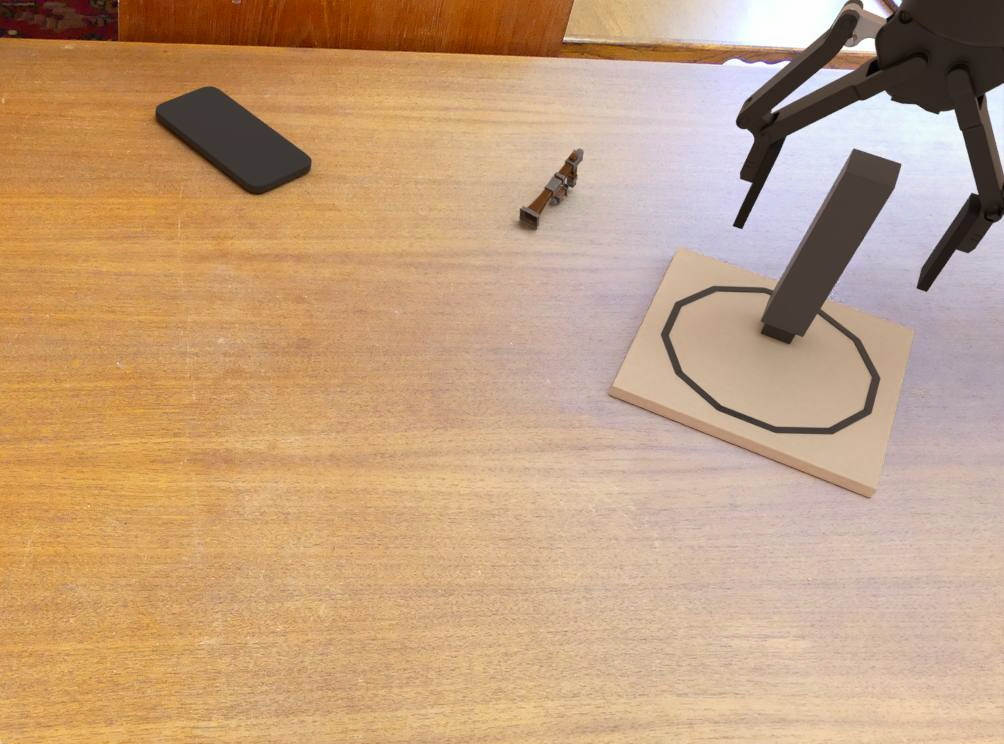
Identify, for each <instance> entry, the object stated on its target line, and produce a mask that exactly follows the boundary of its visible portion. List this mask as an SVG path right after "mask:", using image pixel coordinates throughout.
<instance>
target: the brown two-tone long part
mask: <svg viewBox="0 0 1004 744" xmlns="http://www.w3.org/2000/svg"><path fill="white" fill-rule="evenodd" d="M584 154H585V150H584V149H583V148H582V147H581V148H580V147H579V148H577V149H575V148H574V149H573V150H572V152H571V153H570V154H569V156H568V157H567V158H566V159H565V160H564V164H563V165H562V167H561V168H560V169H559V171H555V172H554V173H553V175H552V176H551V178H550V180H549V181H548V182H547V183H546V184H545V186H544V187H543V188H544V189H543V190H542V192H541V193H540V194H539V195H538V196H537V197H536V198H535V199H534V200H533V201H532V202H531V203H530V204H529V205H527V207H526V206H525V205H522V206H521V207H519V216H518V218H519V219H518V220H519V221H520V222H521V223H524V224H525V225H527V226H529V227H531V228H533V229H535V230H537V229H538V227H539V226H540V216H541V215H542V213H543V212H544V209H545V208H546V206H547V204H548V203H549V202H550V204H551V205H552V206H556V204H558V205H561V202H562V200H563V199H564V198H565V197H566V198H567V197H568V193H569V188H571V189H574V188H575V186H576V185H577V181H578V178H579V175H578V166H579V165H580V163H581V162H583V159H584Z"/></svg>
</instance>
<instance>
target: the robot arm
mask: <svg viewBox="0 0 1004 744" xmlns="http://www.w3.org/2000/svg"><path fill="white" fill-rule="evenodd" d="M867 39H872V40H874V47H875V53H876V55H875V56H874V57H872V58H870V59H868V60H867V61H865V62H863V63H862V64H861V65H859V67H857V68H855V69H853V70H852V71H850V72H848V73H846V74H845V75H843V76H840V77H839V78H837V79H835V80H833V81H831V82H829V83H827V84H825V85H823V86H821V87H819V88H817V89H816V90H814V91H812V92H810V93H808V94H805V95H804V96H802V97H800V98H798V99H796V100H794V101H792V102H790V103H788V104H786V105H784V106H783V107H780V108H779V109H776V110H775V111H773V109H775V107H777V106H778V105H779V104H780V103H782V102H783V101H784V100H786V98H788V97H789V96H790V95H792V94H793V93H794V92H795V91H796V90H797V89H798V88H800V87H801V86H802V85H803V84H804V83H806V82H807V81H808V80H809V79H811V78H812V77H813V76H815V75H816V74H817V73H818V72H819V71H820V70H821V69H823V68H824V67H825V66H826V65H828V64H829V63H830V62H831V61H832V60H833V59H835V57H836V56H837V55H838V54H840V52H841V50H842V49H843V48H844V47H846V48H853V47H857V46H858V45H859V44H860V43H861V42H862V41H864V40H867ZM1001 85H1004V0H901V2H900V5H899V6H898V7H897V8H896V10H895V11H893V13H892V14H890V15H889V16H888V17H886V18H885V17H882V16H880V15H879V14H875V13H873V12H871V11H868V10H866V9H864V3H863V1H862V0H846V2H845V3H844V4H843V6H842V8H841V9H840V10H839V13H838V14H837V15H836V17H835V19H834V20H833V22H832V23H831V26H830V27H829V28H828V29H827V30H826V31H825V32H823V33H822V34H821V35H820V36H819V37H817V38H816V40H814V41H813V42H812V43H811V44H809V45H808V46H807V47H806V48H805V49H803V50H802V51H801V52H800V53H799V54H798V55H796V57H794V58H793V59H792V60H790V62H788V63H787V64H786V65H785V66H783V68H782V69H780V70H779V71H778V72H777V73H775V74H774V75H773V76H772V77H771V78H770V79H769V80H767V81H766V82H764V84H763V85H761V86H760V87H759V88H758V89H757V90H756V91H754V92H753V93H752V94H751V95H750V96H749V97H747V99H746V100H744V101H743V104H742V106H741V108H740V110H739V112H738V114H737V116H736V119H735V125H736V126H737V128H738V129H740V130H747V131H748V132H750V134H751V135H752V136H753V143H752V145H751V148H750V149H749V151H748V154H747V156H746V158H745V160H744V163H743V165H742V166H741V169H740V171H739V180H742V181H744V182H748V183H750V184H751V185H750V187H749V189H748V191H747V193H746V195H745V197H744V199H743V202H742V203H741V205H740V207H739V210H738V212H737V215H736V216H735V219H734V221H733V223H732V227H734V228H736V229H740V230H743V228H744V227H745V224H746V223H747V220H748V218H749V216H750V214H751V213H752V210H753V209H754V206H755V204H756V202H757V200H758V198H759V196H760V194H761V192H762V190H763V188H764V186H765V184H766V182H767V180H768V178H769V175H771V171H772V169H773V168H774V165H775V163H776V161H777V159H778V157H779V155H780V153H781V151H782V149H783V146H784V144H785V141H786V139H787V137H788V136H790V135H792V134H794V133H796V132H798V131H800V130H802V129H804V128H806V127H808V126H810V125H812V124H814V123H816V122H818V121H820V120H822V119H824V118H826V117H828V116H830V115H832V114H835V113H837V112H839V111H840V110H843V109H844V108H846V107H849V106H850V105H853V104H855V103H857V102H859V101H861V102H863V101H866V100H869V99H871V98H872V97H874V96H877V95H879V94H881V93H883V92H885V93H886V94H887V95H888V96H889V97H891V98H890V101H892V102H895V103H897V104H902V105H916V106H917V107H919V108H921V109H922V110H924V111H926V112H928V113H931V114H934V115H938V116H939V115H940V114H941V112H943V113H944V112H950V111H953V110H954V113H955V118H956V121H957V126H958V129H959V131H960V132H961V133H962V137H963V141H964V145H965V148H966V154H967V156H968V161H969V163H970V167H971V172H972V175H973V180H974V183H975V187H976V190H977V191H976V192H977V193H974V192H971V193H970V194H969V196H968V198H967V199H966V200H965V202H964V203H963V205H962V206H961V208H960V210H959V211H958V213H957V214H956V216H955V217H954V219H953V220H952V221H951V223H950V225H949V226H948V227H947V229H946V231H945V232H944V234H942V236H941V238H940V240H939V241H938V243H936V246H935V247H934V248H933V250H932V252H930V255H929V256H928V258H927V259H926V261H925V262H924V263H923V265H922V266H921V268H920V272H919V276H918V279H917V283H916V284H917V285H916V290H920V291H922V292H925V293H928V291H929V290H930V288H931V287H932V285H933V284H934V283H935V282H936V280H937V278H938V276H939V275H940V274H941V273H942V272H943V271H942V270H944V268H945V267H946V265H947V263H948V262H949V261H950V260H951V257H952V256H953V255H954V253H956V251H958V252H962V253H965V254H970V253H971V252H973V251H974V250H975V249H977V247H978V245H979V244H980V243H981V241H983V238H984V237H985V236H986V234H987V233H988V231H989V230H990V229H991V227H992V226H993V224H996V223H998V222H1000V221H1001V220H1002V218H1003V216H1004V170H1003V169H1004V168H1003V166H1002V161H1001V157H1000V152H999V150H998V145H997V141H996V137H995V134H994V133H995V132H994V129H993V125H992V121H991V116H990V113H989V110H988V109H989V108H988V99H987V93H989V92H990V91H992V90H994V89H996V88H998V87H1000V86H1001Z"/></svg>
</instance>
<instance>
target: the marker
mask: <svg viewBox="0 0 1004 744" xmlns="http://www.w3.org/2000/svg"><path fill="white" fill-rule="evenodd" d="M901 169H902V163H901V162H897V161H895V160H891V159H888V158H885V157H882V156H879V155H876V154H873V153H870V152H868V151H867V152H866V151H864V150H861V149H857V148H855V147H853V148H852V150H851V152H850V154H849V155H848V157H847V159H846V160H845V163H844V165H843V166H842V168H841V169H840V172H839V173H838V175H837V177H836V178H835V180H834V182H833V184H832V186H831V187H830V189H829V191H828V192H827V195H826V196H825V198H824V200H823V202H822V203H821V205H820V207H819V209H818V210H817V212H816V214H815V215H814V217H813V219H812V221H811V223H810V225H809V227H808V228H807V230H806V232H805V233H804V235H803V237H802V239H801V241H800V242H799V244H798V246H797V248H796V249H795V251H794V253H793V255H792V257H791V258H790V260H789V262H788V264H787V266H786V267H785V269H784V270H783V273H782V274H781V276H780V277H779V280H778V281H779V282H778V283H777V285H776V287H775V289H774V290H773V292H772V294H771V296H770V298H769V300H768V303H767V305H766V308H765V311H764V313H763V316H762V319H761V322H763V323H764V325H763V328H762V331H761V334H763V335H766V336H768V337H771V338H774V339H776V340H779V341H782V342H785V343H787V344H790V343H791V342H792V340H793V338H794V337H795V335H798V336H801V337H803V336H804V335H805V333H806V331H807V330H808V328H809V327H810V325H811V323H812V322H813V320H814V319H815V317H816V315H817V314H818V312H819V310H820V309H821V307H822V306H823V304H824V302H825V301H826V299H828V298H829V296H830V295H831V293H832V291H833V289H834V288H835V286H836V285H837V283H838V281H839V280H840V278H841V277H842V275H843V273H844V271H845V270H846V268H847V267H848V265H849V263H850V262H851V260H852V258H853V257H854V255H855V253H857V250H858V249H859V247H860V245H861V244H862V242H863V241H864V239H865V238H866V236H867V234H868V233H869V231H870V230H871V228H872V226H873V224H874V223H875V221H876V220H877V218H878V217H879V215H880V213H881V211H882V210H883V209H884V207H885V205H886V204H887V202H888V200H889V198H890V197H891V196H892V194H893V192H894V190H895V189H896V186H897V182H898V179H899V176H900V173H901V172H900V171H901Z"/></svg>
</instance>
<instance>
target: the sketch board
mask: <svg viewBox="0 0 1004 744" xmlns="http://www.w3.org/2000/svg"><path fill="white" fill-rule="evenodd" d="M778 282H779V280H776V279H773V278H771V277H768V276H766V275H762V274H759V273H757V272H754V271H751V270H749V269H746V268H743V267H740V266H737V265H734V264H732V263H729V262H726V261H723V260H720V259H717V258H715V257H712V256H709V255H706V254H704V253H701V252H698V251H695V250H693V249H691V248H687V247H684V246H681V245H678V247H677V249H676V250H675V253H674V256H673V257H672V259H671V261H670V263H669V265H668V268H667V269H666V272H665V274H664V276H663V277H662V280H661V282H660V284H659V287H658V288H657V290H656V292H655V295H654V297H653V299H652V301H651V303H650V306H649V307H648V309H647V311H646V314H645V315H644V318H643V319H642V322H641V324H640V326H639V327H638V330H637V332H636V334H635V337H634V339H633V341H632V343H631V344H630V347H629V349H628V350H627V353H626V355H625V357H624V360H623V362H622V363H621V366H620V368H619V370H618V372H617V374H616V376H615V378H614V380H613V382H612V385H611V386H610V389H609V391H608V396H611V397H614V398H616V399H619V400H621V401H623V402H627V403H630V404H632V405H634V406H637V407H639V408H641V409H644V410H646V411H649V412H652V413H653V414H654V413H655V414H657V415H659V416H661V417H665V418H667V419H669V420H672V421H675V422H677V423H679V424H682V425H684V426H687V427H690V428H692V429H695V430H696V431H697V430H698V431H699V432H702V433H705V434H707V435H710V436H712V437H715V438H717V439H720V440H722V441H725V442H727V443H730V444H733V445H735V446H737V447H741V448H742V449H745V450H747V451H750V452H752V453H755V454H758V455H761V456H763V457H766V458H768V459H770V460H773V461H776V462H778V463H781V464H783V465H786V466H788V467H790V468H793V469H796V470H798V471H801V472H803V473H806V474H808V475H811V476H813V477H815V478H818V479H821V480H824V481H827V482H828V483H831V484H833V485H837V486H838V487H841V488H844V489H846V490H849V491H852V492H854V493H857V494H859V495H861V496H864V497H867V498H869V499H871V498H872V497H873V496H874V495H875V493H876V492H877V491H878V488H879V485H880V484H879V483H880V481H881V477H882V476H881V475H882V471H883V466H884V463H885V458H886V454H887V450H888V447H889V441H890V437H891V434H892V429H893V426H894V421H895V417H896V412H897V409H898V404H899V401H900V400H899V399H900V397H901V396H900V395H901V392H902V388H903V384H904V379H905V374H906V371H907V366H908V362H909V358H910V354H911V351H912V345H913V340H914V338H915V333H916V330H915V329H913V328H910V327H908V326H905V325H902V324H899V323H896V322H894V321H891V320H888V319H886V318H882V317H880V316H876V315H874V314H872V313H869V312H865V311H863V310H860V309H857V308H855V307H851V306H849V305H847V304H844V303H841V302H837V301H835V300H832V299H829V298H827V299H826V301H825V302H824V304H823V306H822V307H821V309H820V310H819V312H818V314H817V315H816V317H815V319H814V320H813V322H812V323H811V325H810V327H809V328H808V330H807V331H806V333H805V335H804V336H803V337H801V336H798V335H795V337H794V338H793V340H792V342H791V343H790V344H787V343H785V342H782V341H779V340H776V339H774V338H771V337H768V336H766V335H763V334H761V331H762V328H763V325H764V323H763V322H761V319H762V316H763V313H764V311H765V308H766V305H767V303H768V300H769V298H770V296H771V294H772V292H773V290H774V289H775V287H776V285H777V283H778Z"/></svg>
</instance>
